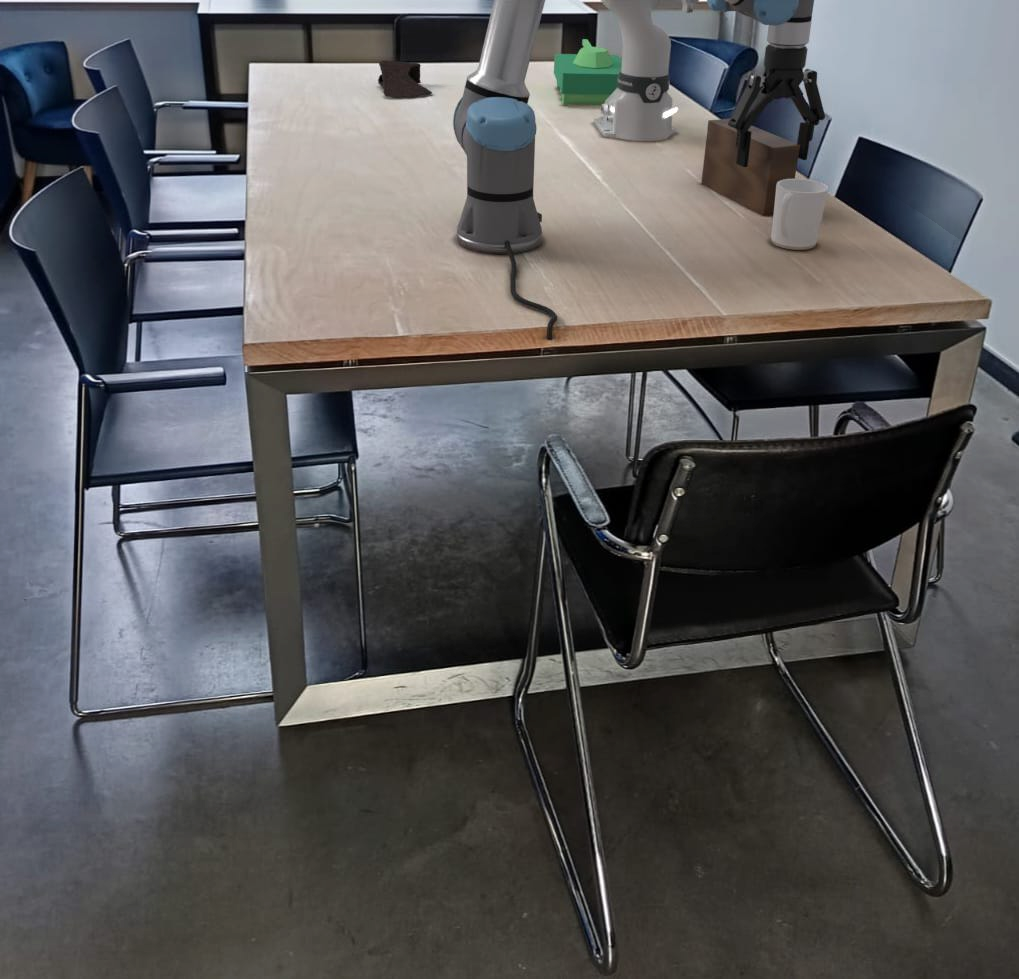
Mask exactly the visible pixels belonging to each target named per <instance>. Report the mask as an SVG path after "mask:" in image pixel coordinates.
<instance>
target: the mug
mask: <svg viewBox="0 0 1019 979" xmlns="http://www.w3.org/2000/svg"><path fill="white" fill-rule="evenodd" d="M828 193H829V186H828V185H827V184H826V183H824V182H821V181H817V180H813V179H808V178H795V179H784V180H781V181H778V182H777V185H776V195H775V205H774V214H773V217H772V225H771V236H770V241H771V243H772V244H773V245H774V246H777V247H779V248H782V249H787V250H795V251H801V250H802V251H804V250H805V251H806V250H810V249H812V248H813V249H814V247H815V246H816V245H817V241H818V238H819V233H820V228H821V224H822V219H823V215H824V210H825V206H826V202H827V196H828Z"/></svg>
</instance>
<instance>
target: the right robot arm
mask: <svg viewBox="0 0 1019 979" xmlns="http://www.w3.org/2000/svg"><path fill="white" fill-rule="evenodd" d="M699 1H700V0H600V2H601V3H602V4H603V6H604V7H606V8H607V9H608V10H609V11H610V12H611V14H612V15H613V16H614V18H615V19H616V22H617V24H618V26H619V30H620V35H621V61H622V67H621V72H619V76H618V79H617V85H616V86H617V89H616V90H615V91H614V92H613V93H612V94H611V95H610V96H609V97H608V98H607V99H606V101H605V104H602V105H600V113H601V114H602V115H603V116H601V117H596V118H594V120H593V124H594V126H595V127H596V128H597V130H598V131H599V133H600V134H601V136H602V137H605V138H610V139H611V138H612V139H613V138H614V139H619V140H626V141H633V142H635V141H636V142H655V141H663V140H665V139H668V138H670V136H672V135H674V134H676V133H677V128H676V127H673V114H675V113H677V111H678V107H674V108H673V102H674V101H673V97H672V96H671V95H670V94H669V92H668V91H669V90H670V84H671V74H670V73H669V69H670V61H671V60H670V59H671V48H672V42H671V38H670V36H669V35H668V33H667V31H665V30H664V29H663V28H660V27H659V26H657V25H656V24H654V22H653V20H652V10H675V9H681V8H682V9H681V11H682V13H685V14H691V13H693V11H694V5H695V4H697V3H698V2H699Z"/></svg>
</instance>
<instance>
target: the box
mask: <svg viewBox="0 0 1019 979" xmlns="http://www.w3.org/2000/svg"><path fill="white" fill-rule="evenodd" d="M729 120H730V118H720V119H719V118H718V119H709V120H707V129H706V137H705V148H704V155H703V156H704V157H703V167H702V173H701V174H702V175H701V185H702V186H705V187H707V188H709V189H711V190H712V191H714V192H716V193H718V194H720V195H722V196H725V197H726V198H728V199H730V200H732V201H734V202H736V203H738V204H740V205H741V206H744V207H745V208H747V209H750V210H751V211H754V212H756V213H757V214H760V215H761V216H763V217H764V216H765V217H766V216H772V215H773V214H774V205H775V195H776V185H777V182H778V181H781V180H784V179H796V174H797V167H798V161H799V158H798V155H799V149H800V145H798V144H797V142H796V143H795V142H793V141H790V140H788V139H786V138H784V137H781V136H778V135H776V134H774V133H771V132H769V131H767V130H764V129H761V128H759V127H757V126H754V125H753V124H752V125H751V127H750V128H749V129H748V131H751V132H752V133H751V141H750V149H749V158H748V166H747V167H742V166H740V165H738V164H736V161H737V152H738V148H737V147H736V145H735V143H736V134H737V130H736V129H735V128H733V127H730V126H729V125H728V122H729Z"/></svg>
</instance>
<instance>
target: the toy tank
mask: <svg viewBox="0 0 1019 979" xmlns="http://www.w3.org/2000/svg"><path fill="white" fill-rule="evenodd" d="M581 41H582V42H581V44H582V46H583V47H581V48H580V49H579V50H578V52H577V53H554V57H553V60H554V61H553V75H554V77H555V80H556V88H557V89H559V92H560V94H561V103H562V106H601V105H602V104H605V101H606V99H607V98H608V97H609V96H610V95H611V94H612V93H613V92H614V91H615V90H616V89H617V86H616V85H617V79H618V76H619V72H621V67H622V58H620V57H619V55H618V54H610V52H609V50H608V49H607V48H604V47H598V46H592V44H591V42H590V41H589V39H587V38H586V39H585V38H583V39H582V40H581Z"/></svg>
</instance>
